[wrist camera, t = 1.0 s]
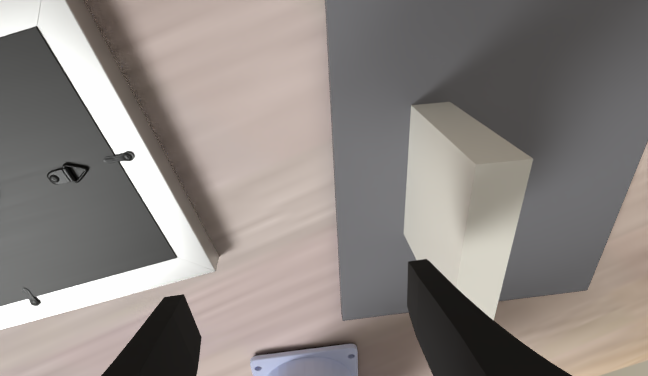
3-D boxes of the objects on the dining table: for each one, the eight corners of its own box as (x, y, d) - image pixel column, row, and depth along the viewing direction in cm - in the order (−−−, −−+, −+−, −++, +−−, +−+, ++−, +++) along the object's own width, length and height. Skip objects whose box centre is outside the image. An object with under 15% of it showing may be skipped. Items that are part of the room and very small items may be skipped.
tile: (435, 230, 22) (493, 321, 16) (403, 233, 22) (449, 327, 16) (449, 101, 18) (533, 158, 12) (411, 105, 18) (476, 164, 12)
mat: (581, 284, 27) (587, 290, 26) (341, 314, 26) (342, 320, 25) (723, -81, 16) (738, -83, 16) (322, -56, 15) (323, -57, 15)
